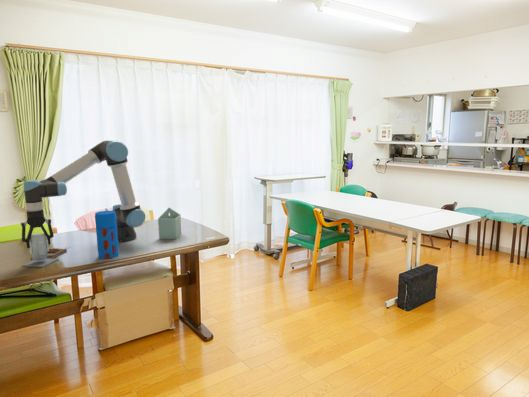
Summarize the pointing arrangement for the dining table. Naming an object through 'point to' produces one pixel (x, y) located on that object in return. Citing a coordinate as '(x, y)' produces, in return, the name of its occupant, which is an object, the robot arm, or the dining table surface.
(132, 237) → the robot arm
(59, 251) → the frame
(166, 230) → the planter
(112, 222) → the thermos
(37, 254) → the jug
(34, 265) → the coaster
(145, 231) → the dining table surface
